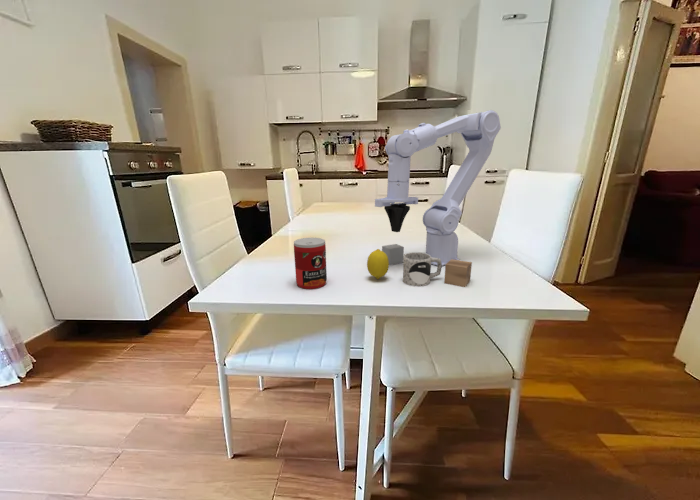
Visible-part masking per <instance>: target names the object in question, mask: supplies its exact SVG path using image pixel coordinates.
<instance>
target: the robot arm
mask: <svg viewBox="0 0 700 500" xmlns="http://www.w3.org/2000/svg"><path fill="white" fill-rule="evenodd" d="M501 129H502V127H501V119H500V117H499V114H498V112H496V111H495V110H492V109H490V110H486V111H481V112H475V113H469V114H465V115H464V114H463V115H459V116H456V117H454V118H451V119H449V120H446V121H444V122H442V123H439V124H436V125H433V124H431V123H426V122H421V123H420V124H418V125H417V127H414V128H412V129H404V130H403V133H400V134H395V135H391V137H389V138H388V139H387V142H386V145H385V146H384V149H385V152H386V155H387V156H388V168H387V169H388V171H387V191H386V192H387V193H386V196H385V197H381V198H375V199H374V207H378V208H383V207H384V210H385V212H386V215H387V217H388V220H389V221H388V222H389V225H390V228H391V232H394V233H400V232H401V229H402V226H403V223H404V220H405V219H406V217H407V214H408V213H409V211H410V210H411V207H410V205H418V204H419V197H418V196H409V190H410V176H411V175H410V174H411V173H410V172H411V161H412V159H411V157H412V156H413V155H414V153H417V152H420V151H421V150H424V149H427V148H429V147H431V146H434V145H435V144H436V142H437V141H438V139H439V138H442V137H445V136H449V135H452V134H454V133H457V134H460V135H461V137H462V139H463V141H464V143H465V145H466V148H468V153H467V155H466V156H465V157H464V160H463V161H462V163H461V165H460V167H459V168H458V169H457V171H456V173H455V174H454V177H453V178H452V180H451V182H450V183H449V184H448V187H447V188H446V190H445V191H444V193H443V195H442V197H440V198H439V199H438V200H436V201H433V203H432V205H431V206H430V207H429V208H428V209H426V210H424V211H425V212H424V213H423V214H422V223H423V226H424V227H425V230H426V238H425V239H426V241H425V254H428V255H430V256H431V257H433V258H439V259H441V264H442V266H445V265H446V264H447V263H448V262H449V261H450V260H451V259H454V260H460V258H459V257H458V249H459V236H458V235H457V233H456V232H455V231H456V230H457V228H458V226H459V222H460V221H459V220H460V218H461V216H462V214H463V213H462V209H461V207H460V206H461V204H462V203H463V200H464V198H466V196H467V194H468V192H469V190H470V189H471V187H472V186H473V184H474V182H475V180H476V179H477V177H478V175H479V174H480V172H481V170H482V169H483V167H484V165H485V164H486V162H487V160H489V159H488V158H489V157H490V155H491V153H492V151H493V147H494V141H495V139H496V137H497V136H498V134H499V132H500V130H501ZM431 265H434V266H437V267H438V264H437V262H431Z"/></svg>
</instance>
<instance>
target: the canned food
mask: <svg viewBox="0 0 700 500" xmlns="http://www.w3.org/2000/svg"><path fill="white" fill-rule="evenodd" d="M326 246H327V245H326V240H325V239H323V238H322V237H321V238H320V237H303V238H302V237H301V238H298V239H295V240H294V241H293V254H294V269H295V270H294V271H295V282H296V285H297V286H298V287H299V288H301V289H304V290H305V289H306V290H316V289H320V288H322V287H324V286H326V284H327V280H328V279H327V275H328V274H327V247H326Z"/></svg>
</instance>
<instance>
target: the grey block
mask: <svg viewBox="0 0 700 500" xmlns="http://www.w3.org/2000/svg"><path fill="white" fill-rule="evenodd" d="M404 248H405V247H404V246H403V245H400V244H398V243H393V244H386V245H382V246H381V251H383V252H384V253H385V254H386V255H387V257H388V261H389V266H393V265H399V264H404V255H405V254H404V250H405V249H404Z"/></svg>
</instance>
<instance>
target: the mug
mask: <svg viewBox="0 0 700 500" xmlns="http://www.w3.org/2000/svg"><path fill="white" fill-rule="evenodd" d="M431 262H437V264H438V266H437V268H436V271H435V272H431V271H432V270H431V269H432V264H431ZM441 272H442V264H441V259H439V258H433V257H431V256H430V255H428V254H426V252H424V253H423V252H408V253H405V254H404V256H403V272H402V282H403V283H404V284H406V285H408V286H410V287H424V286H428V285H430V283H431V279H433V278H435V277H438V276H440V275H441Z"/></svg>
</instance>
